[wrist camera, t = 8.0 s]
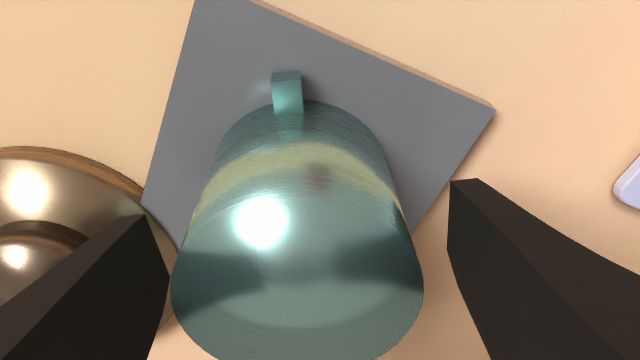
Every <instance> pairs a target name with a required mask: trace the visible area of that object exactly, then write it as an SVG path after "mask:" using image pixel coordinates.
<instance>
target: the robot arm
mask: <svg viewBox="0 0 640 360" xmlns="http://www.w3.org/2000/svg"><path fill="white" fill-rule="evenodd" d="M613 192H614V195H615V196H616V197H617V198H618V199H619V200H621V201H622V202H623V203H625V204H627V205H630V206H632V207H634V208H637V209H639V210H640V156H639V157H638V158H637V159H636V160H635V161H634V162H633V163H632V165H631V166H630V167H629V168H628V169H627V170H626V171H625V172H624V173H623V174H622V175H621V177H620V178H619V179H618V180H617V181H616V183H615V184H614V187H613ZM447 251H448V255H449V258H450V262H451V265H452V268H453V272H454V275H455V278H456V281H457V284H458V287H459V289H460V292H461V294H462V296H463V299H464V301H465V303H466V305H467V307H468V310H469V312H470V314H471V316H472V319H473V321H474V323H475V325H476V327H477V330H478V332H479V334H480V336H481V338H482V340H483V343H484V345H485V347H486V349H487V351H488V354H489V356H490V358H491V360H640V275H638V274H636V273H634V272H632V271H630V270H628V269H626V268H624V267H622V266H620V265H618V264H615V263H614V262H612V261H610V260H608V259H606V258H604V257H602V256H600V255H598V254H597V253H595V252H593V251H591V250H590V249H588V248H586V247H584V246H583V245H581V244H579V243H577V242H576V241H574V240H572V239H570V238H569V237H567V236H565V235H564V234H562V233H560V232H559V231H557V230H555V229H554V228H552V227H551V226H549V225H547V224H546V223H544V222H543V221H541V220H539V219H538V218H536V217H535V216H533V215H532V214H530V213H529V212H527V211H526V210H524V209H523V208H521V207H520V206H518V205H517V204H515V203H514V202H512V201H511V200H509V199H508V198H506V197H505V196H504V195H502V194H501V193H499V192H498V191H496V190H495V189H493V188H492V187H490V186H489V185H487V184H486V183H484V182H483V181H481V180H479V179H478V178H474V179H465V180H456V181H450V199H449V218H448V236H447ZM169 282H170V275H169V273H168V270H167V268H166V265H165V263H164V260H163V258H162V255H161V253H160V250H159V248H158V245H157V243H156V240H155V238H154V235H153V233H152V230H151V228H150V225H149V223H148V220H147V218H146V215H145V214H140V215H130V216H121V217H119V218H117V219H116V220H114V221H113V222H111V223H110V224H108V225H107V226H106V227H104V228H103V229H101V230H100V231H99V232H98V233H96V234H95V235H94V236H92V237H91V238H90V239H89V240H87V241H86V242H85V243H83V244H82V245H81V246H80V247H78V248H77V249H76V250H75V251H73V252H72V253H71V254H69V255H68V256H67V257H66V258H64V259H63V260H62V261H61V262H59V263H58V264H57V265H55V266H54V267H53V268H52V269H50V270H49V271H48V272H46V273H45V274H44V275H43V276H41V277H40V278H39V279H37V280H36V281H34V282H33V283H32V284H30V285H29V286H28V287H26V288H25V289H24V290H22V291H21V292H19V293H18V294H17V295H15V296H14V297H13V298H11V299H10V300H9V301H7V302H6V303H5V304H3V305H2V306H0V360H147V357H148V354H149V352H150V349H151V346H152V344H153V341H154V338H155V335H156V332H157V330H158V327H159V324H160V321H161V318H162V315H163V310H164V306H165V302H166V297H167V292H168V287H169Z"/></svg>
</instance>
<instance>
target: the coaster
mask: <svg viewBox="0 0 640 360" xmlns="http://www.w3.org/2000/svg"><path fill="white" fill-rule="evenodd" d="M296 70H301V79H302V89H303V98H304V100H311V101H318V102H323V103H327V104H330V105H333V106H335V107H338V108H340V109H342V110H344V111H346V112H348V113H350V114H352V115H353V116H354V117H356V118H357V119H359V120H360V121H361V122H362V123H363V124H364V125H365V126H366V127H367V128H368V129H369V130H370V131H371V132H372V134H373V135H374V136H375V138H376V139H377V141H378V143H379V144H380V146H381V149H382V151H383V154H384V156H385V159H386V163H387V166H388V169H389V172H390V175H391V178H392V181H393V184H394V187H395V190H396V193H397V197H398V200H399V203H400V206H401V209H402V212H403V215H404V218H405V221H406V224H407V227H408V230H409V234H410V236H411V234H412V233H413V231H414V230H415V229H416V227H417V226H418V224H419V223H420V221H421V220H422V218H423V217H424V215H425V214H426V212H427V211H428V209H429V208H430V207H431V205H432V204H433V202H434V201H435V199H436V198H437V196H438V195H439V193H440V192H441V190H442V189H443V188H444V186H445V185H446V183H447V182H448V180H449V179H450V177H451V176H452V174H453V173H454V171H455V170H456V168H457V167H458V166H459V164H460V163H461V161H462V160H463V158H464V157H465V155H466V154H467V152H468V151H469V149H470V148H471V147H472V145H473V144H474V142H475V141H476V139H477V138H478V136H479V135H480V133H481V132H482V130H483V129H484V128H485V126H486V125H487V123H488V122H489V120H490V119H491V117H492V116H493V114H494V113H495V111H496V109H495V108H494V107H493V106H492V105H491V104H490V103H489V102H487V101H485V100H483V99H481V98H478V97H476V96H474V95H472V94H469V93H467V92H465V91H463V90H460V89H458V88H456V87H454V86H451V85H449V84H447V83H445V82H443V81H440V80H438V79H436V78H434V77H431V76H429V75H427V74H425V73H422V72H420V71H418V70H416V69H413V68H411V67H409V66H407V65H404V64H402V63H400V62H398V61H395V60H393V59H391V58H389V57H386V56H384V55H382V54H380V53H377V52H375V51H373V50H371V49H369V48H366V47H364V46H362V45H360V44H357V43H355V42H353V41H351V40H348V39H346V38H344V37H342V36H339V35H337V34H335V33H333V32H330V31H328V30H326V29H324V28H321V27H319V26H317V25H315V24H312V23H310V22H308V21H306V20H304V19H301V18H299V17H297V16H295V15H292V14H290V13H288V12H286V11H283V10H281V9H279V8H277V7H274V6H272V5H270V4H268V3H265V2H263V1H261V0H195V1H194V5H193V9H192V12H191V16H190V20H189V24H188V27H187V31H186V35H185V38H184V42H183V46H182V50H181V53H180V57H179V61H178V65H177V68H176V72H175V76H174V79H173V83H172V87H171V91H170V94H169V98H168V102H167V105H166V109H165V113H164V117H163V120H162V124H161V128H160V132H159V135H158V139H157V143H156V146H155V150H154V154H153V158H152V161H151V165H150V169H149V172H148V176H147V180H146V184H145V187H144V191H143V195H142V199H141V202H140V204H141V205H142V206H143V207H145V208H146V209H147V210H148V211H149V212H150V213H151V214H152V215H153V216H154V217H155V218H156V220H157V221H158V222H159V223H160V224H161V226H162V227H163V228H164V230H165V231H166V233H167V234H168V236H169V237H170V239H171V240H172V242H173V245H174V247H175V249H176V251H177V253H179V250H180V247H181V245H182V242H183V239H184V237H185V234H186V231H187V228H188V226H189V223H190V220H191V218H192V215H193V212H194V210H195V207H196V204H197V201H198V199H199V196H200V193H201V191H202V188H203V185H204V183H205V180H206V177H207V174H208V172H209V169H210V166H211V164H212V161H213V158H214V155H215V153H216V150H217V148H218V146H219V144H220V142H221V140H222V139H223V137H224V136H225V134H226V133H227V131H228V130H229V129H230V128H231V127H232V126H233V125H234V124H235V123H236V122H237V121H239V120H240V119H241V118H242V117H244V116H245V115H247V114H249V113H250V112H252V111H254V110H256V109H258V108H260V107H263V106H265V105H268V104H272V103H273V99H272V92H271V85H270V80H271V75H272V73H273V72H284V71H296Z"/></svg>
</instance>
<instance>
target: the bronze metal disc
mask: <svg viewBox="0 0 640 360" xmlns="http://www.w3.org/2000/svg"><path fill="white" fill-rule="evenodd" d="M143 191H144V190H143V189H142V188H140V187H139V186H138V185H137V184H135V183H134V182H133V181H131V180H130V179H128V178H126V177H125V176H123V175H122V174H120V173H118V172H117V171H115V170H113V169H111V168H109V167H107V166H105V165H103V164H101V163H99V162H96V161H93V160H91V159H88V158H85V157H83V156H80V155H76V154H73V153H69V152H65V151H62V150H56V149H50V148H44V147H31V146H14V147H2V148H0V306H2V305H3V304H5V303H6V302H7V301H9V300H10V299H11V298H13V297H14V296H15V295H17V294H18V293H19V292H21V291H22V290H24V289H25V288H26V287H28V286H29V285H30V284H32V283H33V282H34V281H36V280H37V279H39V278H40V277H41V276H43V275H44V274H45V273H46V272H48V271H49V270H50V269H52V268H53V267H54V266H55V265H57V264H58V263H59V262H61V261H62V260H63V259H64V258H66V257H67V256H68V255H69V254H71V253H72V252H73V251H75V250H76V249H77V248H78V247H80V246H81V245H82V244H83V243H85V242H86V241H87V240H89V239H90V238H91V237H92V236H94V235H95V234H96V233H98V232H99V231H100V230H101V229H103V228H104V227H106V226H107V225H108V224H110V223H111V222H113V221H114V220H116V219H117V218H119V217H121V216H130V215H140V214H145V215H146V218H147V220H148V223H149V225H150V228H151V230H152V233H153V235H154V238H155V240H156V243H157V245H158V248H159V250H160V253H161V255H162V258H163V260H164V263H165V265H166V268H167V270H168V273H169V275H170V278H171V274H172V270H173V267H174V264H175V261H176V258H177V255H178V253H177V251H176V249H175V247H174V245H173V242H172V240H171V239H170V237H169V236H168V234H167V233H166V231H165V230H164V228H163V227H162V226H161V224H160V223H159V222H158V221H157V220H156V218H155V217H154V216H153V215H152V214H151V213H150V212H149V211H148V210H147V209H146V208H145V207H143V206H142V205H141V204H140V202H141V199H142V195H143ZM173 312H174V311H173V307H172V304H171V299H170V282H169V287H168V292H167V297H166V302H165V306H164V310H163V315H162V318H161V321H160V324H159V327H158V330H159V329H160V328H161V327H162V326H163V325H164V324H165V323H166V322H167V320H168V319H169V318H170V316H171V315H172V314H173Z"/></svg>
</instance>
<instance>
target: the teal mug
mask: <svg viewBox="0 0 640 360" xmlns="http://www.w3.org/2000/svg"><path fill="white" fill-rule="evenodd" d="M270 85H271V92H272V99H273V103H272V104H268V105H265V106H263V107H260V108H258V109H256V110H254V111H252V112H250V113H249V114H247V115H245V116H244V117H242V118H241V119H240V120H239V121H237V122H236V123H235V124H234V125H233V126H232V127H231V128H230V129H229V130H228V131H227V133H226V134H225V136H224V137H223V139H222V140H221V142H220V144H219V146H218V148H217V150H216V153H215V155H214V158H213V161H212V164H211V166H210V169H209V172H208V174H207V177H206V180H205V183H204V185H203V188H202V191H201V193H200V196H199V199H198V201H197V204H196V207H195V210H194V212H193V215H192V218H191V220H190V223H189V226H188V228H187V231H186V234H185V237H184V239H183V242H182V245H181V247H180V250H179V253H178V255H177V258H176V261H175V264H174V267H173V270H172V274H171V278H170V299H171V304H172V307H173V311H174V313H175V315H176V317H177V320H178V322H179V323H180V325H181V326H182V328H183V329H184V331H185V332H186V333H187V335H188V336H189V337H190V338H191V339H192V340H193V341H194V342H195V343H196V344H197V345H198V346H200V347H201V348H202V349H203V350H204V351H206V352H207V353H209V354H210V355H212V356H213V357H215V358H217V359H219V360H374V359H376V358H377V357H379V356H381V355H382V354H384V353H385V352H387V351H388V350H389V349H391V348H392V347H393V346H394V345H396V344H397V343H398V342H399V341H400V340H401V339H402V338H403V337H404V336H405V334H406V333H407V332H408V330H409V329H410V328H411V326H412V325H413V323H414V321H415V319H416V318H417V316H418V313H419V311H420V308H421V305H422V300H423V293H424V286H423V276H422V272H421V268H420V264H419V261H418V258H417V255H416V252H415V249H414V246H413V243H412V240H411V237H410V234H409V230H408V227H407V224H406V221H405V218H404V215H403V212H402V209H401V206H400V203H399V200H398V197H397V193H396V190H395V187H394V184H393V181H392V178H391V175H390V172H389V169H388V166H387V163H386V159H385V156H384V154H383V151H382V149H381V146H380V144H379V143H378V141H377V139H376V138H375V136H374V135H373V134H372V132H371V131H370V130H369V129H368V128H367V127H366V126H365V125H364V124H363V123H362V122H361V121H360V120H359V119H357V118H356V117H354V116H353V115H352V114H350V113H348V112H346V111H344V110H342V109H340V108H338V107H335V106H333V105H330V104H327V103H323V102H318V101H311V100H304V98H303V89H302V79H301V70H296V71H284V72H273V73H272V75H271V80H270Z"/></svg>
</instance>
